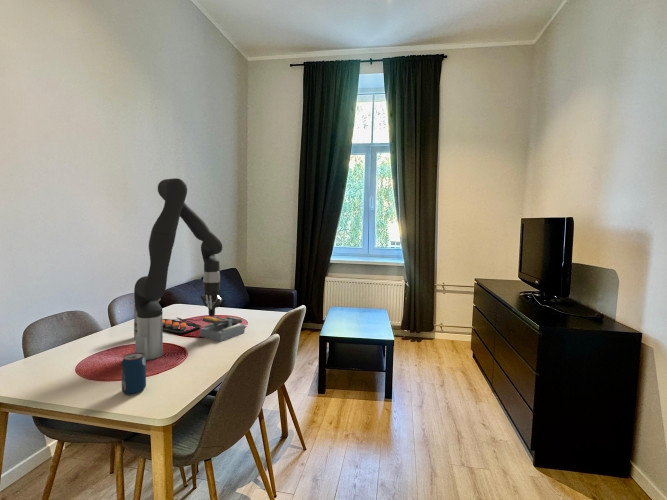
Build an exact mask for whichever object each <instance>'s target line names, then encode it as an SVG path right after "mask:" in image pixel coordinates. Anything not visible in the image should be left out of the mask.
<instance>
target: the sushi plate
mask: <svg viewBox="0 0 667 500" xmlns="http://www.w3.org/2000/svg"><path fill="white" fill-rule="evenodd" d="M176 318H177V319H174V318H173V319H171V318H170V319H169V318H162V319H163V332H164V331H165V332H170V333H176V334H186V333H189V332H192V331H194V330H197V329H199V328H202V325H201V324H196V323H195V322H192V321H194V320H193V319H194V318H185V319H183V318H182V317H181V318H180V317H176ZM183 320H184V321H183ZM186 321H187V322H186ZM179 324H180V329H178V327H179ZM186 325H188V326H193V327H195V328H193V329H191V330H186V331H184V330H185V329H186Z"/></svg>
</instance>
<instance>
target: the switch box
mask: <svg viewBox="0 0 667 500" xmlns="http://www.w3.org/2000/svg"><path fill="white" fill-rule="evenodd" d="M213 318H219V316H213ZM237 324H238V323H232V320H231V319H230V320H228V324H226V323H222V324H214V325H212V326H209V327H205V326H204V327H200V330H199V336H200V337H202V338H205V339H210V340H213V341H217V342H224V341H226V340H228V339H231V338H235V337H236V336H240V335H242V334H244V333H245V330H246V329H245V328H246V327H245V326H246V325H245V324H242V323H240V324H241V326H238V327H235V328H232V329H230V330H227V331H224V332H223V331H222V329H225V328H228V327H231V326H234V325H237Z"/></svg>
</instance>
